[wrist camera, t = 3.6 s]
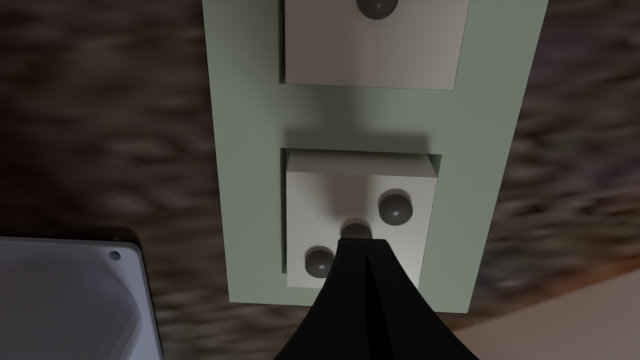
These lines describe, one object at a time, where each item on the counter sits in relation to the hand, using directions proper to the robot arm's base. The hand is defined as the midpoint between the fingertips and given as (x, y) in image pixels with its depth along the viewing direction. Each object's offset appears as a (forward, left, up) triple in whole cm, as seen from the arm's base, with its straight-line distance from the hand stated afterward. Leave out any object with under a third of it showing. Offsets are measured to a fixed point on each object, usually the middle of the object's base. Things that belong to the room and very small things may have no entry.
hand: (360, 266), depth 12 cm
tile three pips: (0, 0, -4) cm, 4 cm away
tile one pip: (0, +7, -4) cm, 8 cm away
